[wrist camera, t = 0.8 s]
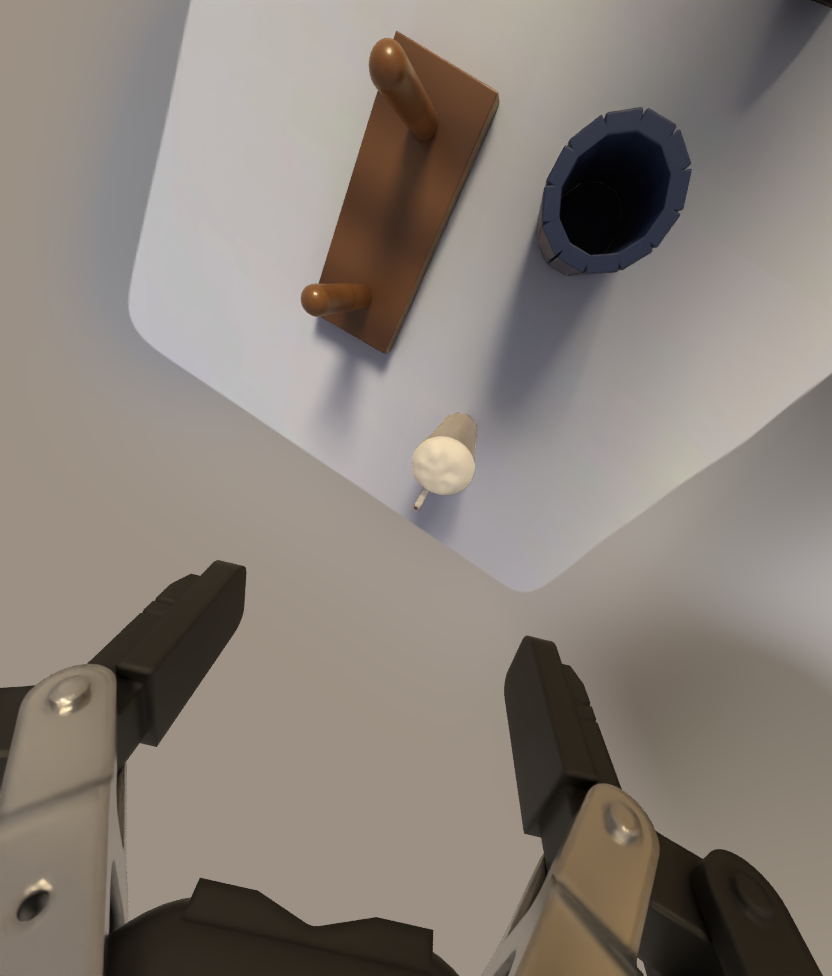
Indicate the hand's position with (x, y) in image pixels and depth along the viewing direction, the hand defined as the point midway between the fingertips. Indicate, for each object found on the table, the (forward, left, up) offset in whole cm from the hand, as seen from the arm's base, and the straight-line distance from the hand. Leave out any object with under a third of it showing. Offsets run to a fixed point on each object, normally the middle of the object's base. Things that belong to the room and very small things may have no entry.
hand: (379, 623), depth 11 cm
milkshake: (+3, -2, -26) cm, 26 cm away
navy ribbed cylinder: (-10, +9, -26) cm, 29 cm away
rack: (-14, -4, -26) cm, 29 cm away
